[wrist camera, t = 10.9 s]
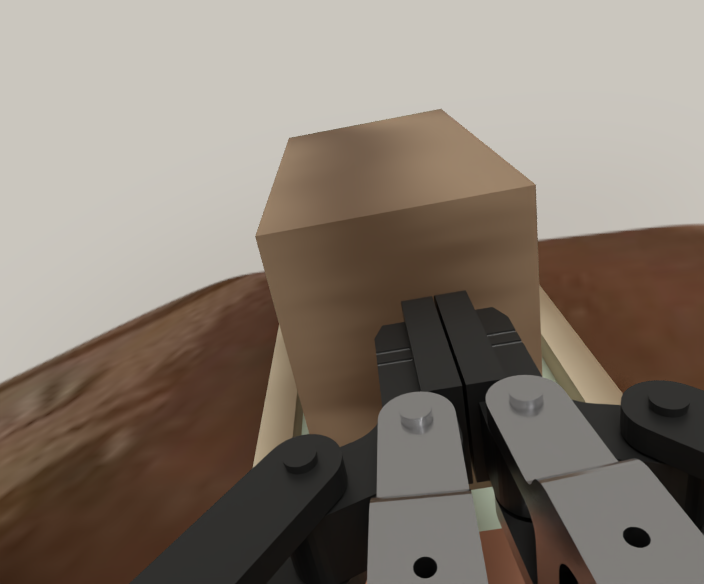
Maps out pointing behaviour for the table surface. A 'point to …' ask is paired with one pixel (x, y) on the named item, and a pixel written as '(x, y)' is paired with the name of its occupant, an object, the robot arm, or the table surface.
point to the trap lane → (502, 570)
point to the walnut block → (389, 251)
